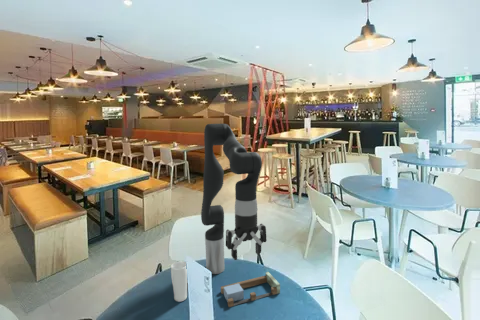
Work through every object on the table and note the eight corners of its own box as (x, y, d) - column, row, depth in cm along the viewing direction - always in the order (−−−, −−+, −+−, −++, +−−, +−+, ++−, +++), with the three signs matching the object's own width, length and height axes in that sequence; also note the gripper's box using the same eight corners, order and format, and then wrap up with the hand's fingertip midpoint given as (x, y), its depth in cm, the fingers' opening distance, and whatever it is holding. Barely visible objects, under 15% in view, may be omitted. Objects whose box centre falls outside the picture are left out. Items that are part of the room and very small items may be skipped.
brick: (223, 295, 114) (223, 287, 114) (239, 291, 117) (238, 283, 116) (227, 303, 109) (227, 294, 109) (243, 299, 112) (243, 290, 111)
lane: (220, 291, 116) (220, 283, 116) (268, 279, 125) (268, 271, 124) (228, 307, 106) (228, 298, 106) (280, 292, 115) (280, 284, 114)
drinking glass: (172, 304, 108) (170, 270, 106) (172, 294, 115) (170, 262, 113) (189, 301, 110) (187, 268, 108) (188, 292, 117) (186, 260, 115)
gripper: (260, 205, 95) (260, 247, 97) (222, 210, 90) (223, 255, 92) (270, 211, 88) (270, 257, 91) (229, 218, 83) (230, 266, 85)
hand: (246, 256), depth 91 cm, fingers open, 8 cm apart
